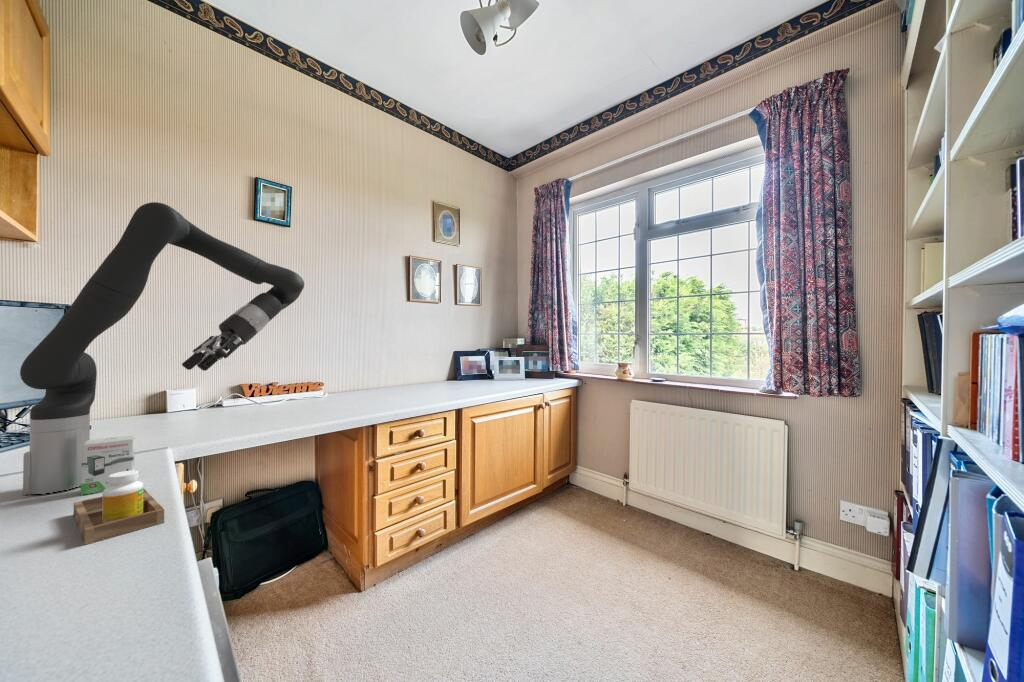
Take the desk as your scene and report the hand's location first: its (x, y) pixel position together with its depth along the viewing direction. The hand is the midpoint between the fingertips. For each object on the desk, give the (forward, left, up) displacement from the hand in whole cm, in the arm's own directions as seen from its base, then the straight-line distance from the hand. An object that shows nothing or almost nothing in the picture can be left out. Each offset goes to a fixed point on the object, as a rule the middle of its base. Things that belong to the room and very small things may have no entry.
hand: (192, 367), depth 91 cm
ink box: (-18, +6, -29) cm, 35 cm away
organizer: (-6, -16, -29) cm, 34 cm away
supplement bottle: (-4, -20, -29) cm, 35 cm away
